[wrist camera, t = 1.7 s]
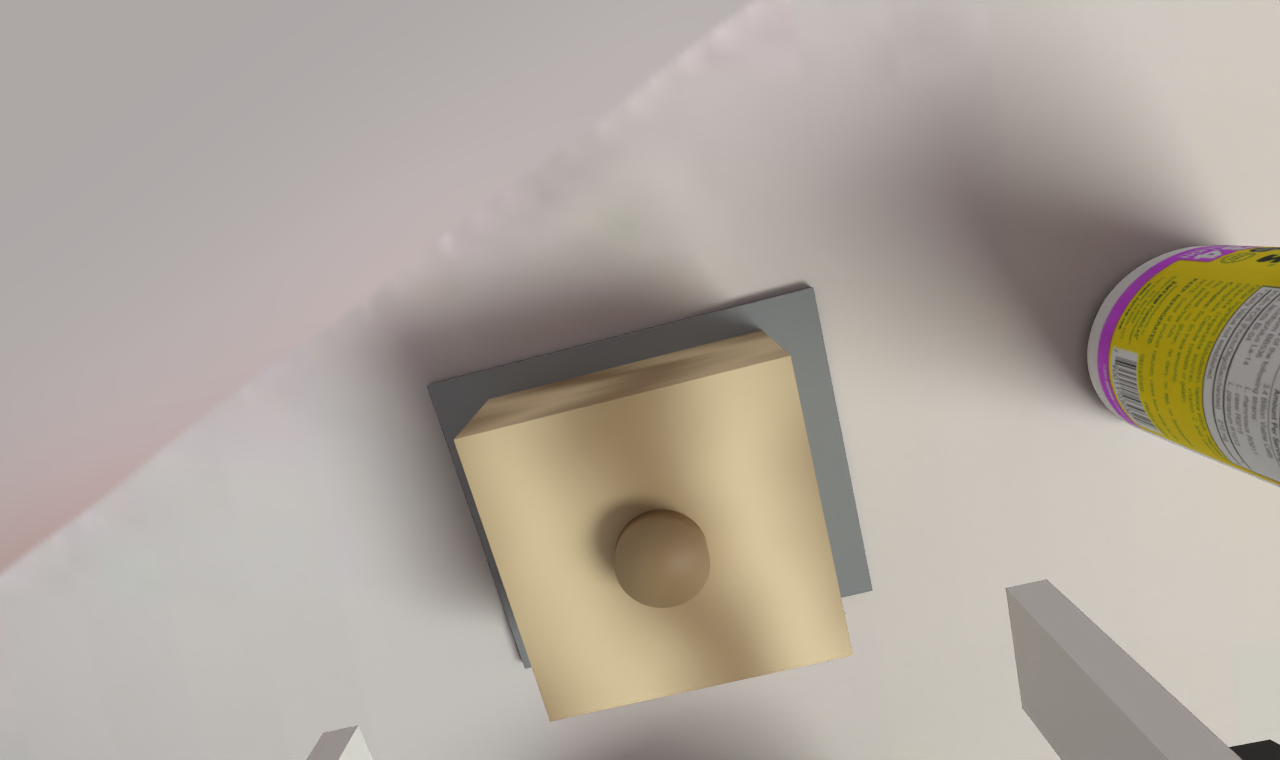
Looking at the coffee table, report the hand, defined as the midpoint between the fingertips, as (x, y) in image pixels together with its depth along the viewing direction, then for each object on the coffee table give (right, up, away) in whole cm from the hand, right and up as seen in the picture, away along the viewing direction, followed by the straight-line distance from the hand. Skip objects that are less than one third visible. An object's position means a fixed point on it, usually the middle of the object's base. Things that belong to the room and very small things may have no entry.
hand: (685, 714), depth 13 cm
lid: (0, +2, +11) cm, 12 cm away
